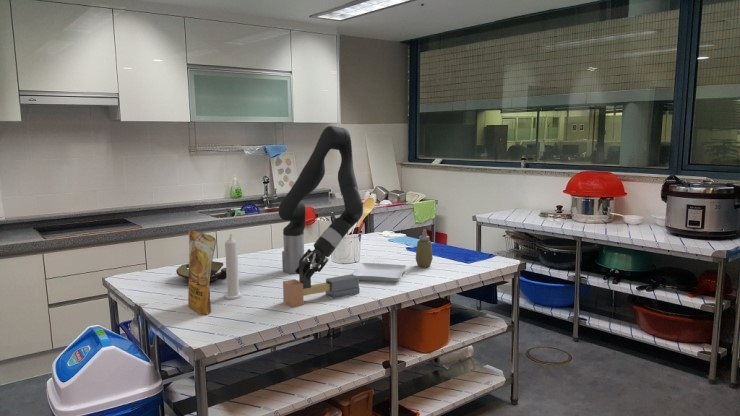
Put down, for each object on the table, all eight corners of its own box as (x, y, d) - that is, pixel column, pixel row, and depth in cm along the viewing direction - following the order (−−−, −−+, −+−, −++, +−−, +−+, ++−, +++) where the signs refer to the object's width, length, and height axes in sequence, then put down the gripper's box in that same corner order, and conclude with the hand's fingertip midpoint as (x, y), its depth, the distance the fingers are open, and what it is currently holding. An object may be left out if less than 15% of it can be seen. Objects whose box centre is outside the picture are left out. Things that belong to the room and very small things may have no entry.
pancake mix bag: (200, 299, 202) (196, 228, 198) (221, 313, 188) (217, 235, 184) (183, 303, 198) (178, 230, 194) (202, 317, 184) (198, 238, 179)
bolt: (336, 287, 209) (335, 255, 207) (340, 289, 207) (339, 257, 205) (289, 295, 199) (288, 262, 197) (292, 298, 196) (291, 264, 194)
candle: (233, 300, 202) (230, 236, 198) (220, 297, 205) (217, 234, 202) (246, 295, 208) (244, 233, 204) (233, 292, 211) (231, 231, 207)
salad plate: (400, 285, 222) (400, 277, 221) (350, 282, 226) (350, 274, 225) (406, 271, 242) (406, 264, 242) (361, 269, 246) (361, 262, 246)
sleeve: (351, 289, 215) (351, 273, 214) (359, 293, 210) (359, 277, 209) (325, 294, 209) (325, 278, 208) (332, 298, 204) (332, 282, 203)
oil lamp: (218, 269, 247) (218, 253, 246) (244, 284, 223) (244, 266, 222) (169, 277, 234) (168, 260, 233) (191, 294, 210) (190, 275, 209)
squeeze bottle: (413, 267, 248) (413, 229, 246) (418, 263, 256) (418, 226, 253) (429, 269, 245) (430, 230, 243) (434, 264, 253) (435, 227, 250)
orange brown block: (295, 299, 202) (295, 279, 201) (303, 304, 197) (303, 283, 195) (283, 301, 200) (282, 281, 199) (291, 307, 194) (290, 286, 193)
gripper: (313, 232, 207) (287, 265, 203) (330, 239, 195) (302, 274, 191) (325, 244, 211) (300, 277, 206) (343, 251, 199) (316, 286, 194)
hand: (301, 275), depth 199 cm, fingers open, 8 cm apart
